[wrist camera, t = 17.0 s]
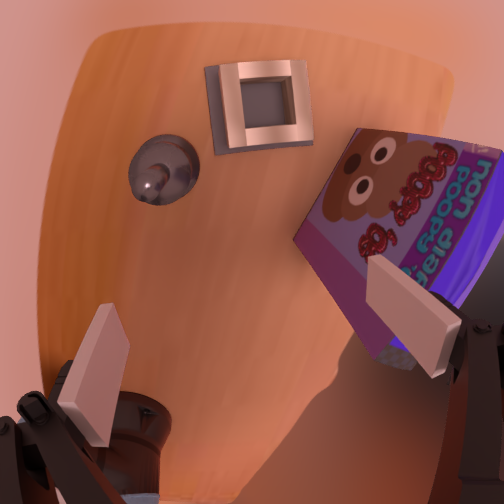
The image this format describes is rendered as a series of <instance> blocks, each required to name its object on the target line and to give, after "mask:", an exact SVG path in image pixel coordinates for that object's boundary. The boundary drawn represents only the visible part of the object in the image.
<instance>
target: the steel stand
mask: <svg viewBox="0 0 504 504" xmlns="http://www.w3.org/2000/svg"><path fill="white" fill-rule="evenodd" d="M199 169H200V163H199V157H198V155H197V152H196V150H195V149H194V147H193V146H192V145H191V144H190V143H189V142H188V141H187V140H185V139H184V138H182V137H179V136H176V135H160V136H156V137H154V138H151V139H150V140H148V141H147V142H145V143H144V144H143V145H142V146H141V148H140V149H139V150H138V152H137V153H136V155H135V156H134V157H133V159H132V161H131V164H130V167H129V182H130V185H131V188H132V193H133V195H134V196H135V198H136V199H138V200H139V201H142V202H146V203H148V204H152V205H167V204H170V203H173V202H174V201H176V200H178V199H179V198H181V197H183V196H184V195H186V194H187V193H188V192H189V191H190V190H191V189H192V188H193V186H194V185H195V183H196V181H197V178H198V175H199Z"/></svg>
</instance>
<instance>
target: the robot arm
mask: <svg viewBox="0 0 504 504" xmlns="http://www.w3.org/2000/svg"><path fill="white" fill-rule="evenodd" d="M366 302H367V303H368V305H369V306H370V307H371V308H372V309H373V310H374V311H375V312H376V314H377V315H378V316H379V317H380V318H381V319H382V320H383V321H384V323H385V324H386V325H387V326H388V327H389V328H390V329H391V331H392V332H393V333H394V334H395V335H396V336H397V338H398V339H399V340H400V341H401V342H402V343H403V345H404V346H405V347H406V348H407V349H408V350H409V352H410V353H411V354H412V355H413V356H414V357H415V359H416V360H417V361H418V362H419V363H420V365H422V367H423V368H424V369H425V371H426V372H427V373H428V374H429V375H430V377H431V378H434V377H436V376H438V375H440V374H442V373H444V372H445V371H446V368H447V365H448V363H449V362H450V363H451V364H452V365H453V366H454V367H453V369H452V372H451V374H450V377H449V379H448V382H447V385H449V383H450V381H451V384H450V394H449V403H448V411H447V419H446V425H445V431H444V437H443V443H442V448H441V453H440V458H439V462H438V467H437V471H436V475H435V479H434V483H433V487H432V490H431V494H430V497H429V501H428V504H504V481H501V480H500V479H499V466H500V456H501V436H502V418H503V422H504V323H503V324H502V325H496V326H492V325H491V324H490V323H489V322H487V321H485V320H482V319H473V320H471V319H470V318H468V317H467V316H466V315H465V314H464V313H462V312H461V311H460V310H459V309H458V308H456V307H455V306H453V304H452V303H450V302H449V301H447V299H445V298H444V297H443V296H442V295H440V294H438V293H436V292H434V291H427V290H425V289H424V288H423V287H422V286H420V285H419V284H418V283H417V282H415V281H414V280H413V279H412V278H410V277H409V276H408V275H407V274H405V273H404V272H403V271H402V270H400V269H399V268H398V267H396V266H395V265H394V264H393V263H391V262H390V261H389V260H387V259H386V258H385V257H383V256H382V255H381V254H379V255H374V256H369V257H368V271H367V290H366ZM129 349H130V344H129V341H128V339H127V336H126V334H125V332H124V329H123V327H122V324H121V322H120V319H119V316H118V314H117V311H116V309H115V306H114V303H107V304H101V305H100V306H99V308H98V310H97V312H96V314H95V316H94V318H93V320H92V322H91V324H90V326H89V328H88V330H87V332H86V335H85V337H84V339H83V341H82V343H81V345H80V348H79V350H78V352H77V354H76V357H75V359H74V360H68V361H67V362H66V363H65V364H64V366H63V367H62V368H61V370H60V372H59V374H58V378H57V379H56V381H55V385H54V386H53V388H52V390H51V393H50V395H49V398H48V400H46V398H45V397H44V395H43V394H42V393H41V392H38V391H31V392H29V393H27V394H25V395H24V396H23V397H21V399H20V400H19V401H18V405H17V411H18V413H19V414H20V415H21V416H22V417H21V419H20V420H19V421H18V423H17V424H16V423H15V421H14V420H13V419H12V418H11V417H9V416H2V417H0V504H158V503H159V498H160V495H159V476H160V453H161V450H162V448H163V446H164V444H165V442H166V440H167V438H168V436H169V434H170V431H171V416H170V414H169V412H168V411H167V410H166V408H165V407H163V406H162V405H161V404H160V403H158V402H156V401H155V400H153V399H151V398H148V397H146V396H143V395H140V394H135V393H130V392H119V391H120V386H121V382H122V378H123V373H124V369H125V365H126V361H127V357H128V353H129Z"/></svg>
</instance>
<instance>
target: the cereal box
mask: <svg viewBox="0 0 504 504" xmlns="http://www.w3.org/2000/svg"><path fill="white" fill-rule="evenodd" d="M503 233H504V153H503V151H502V150H500V149H495V148H491V147H487V146H482V145H477V144H473V143H468V142H462V141H457V140H451V139H446V138H440V137H433V136H427V135H419V134H412V133H404V132H395V131H386V130H375V129H363V128H357V129H356V131H355V133H354V135H353V136H352V138H351V140H350V142H349V144H348V145H347V147H346V149H345V151H344V152H343V154H342V156H341V158H340V159H339V161H338V163H337V165H336V167H335V168H334V170H333V172H332V173H331V175H330V177H329V179H328V180H327V182H326V184H325V186H324V187H323V189H322V191H321V193H320V194H319V196H318V198H317V199H316V201H315V203H314V205H313V206H312V208H311V210H310V211H309V213H308V215H307V216H306V218H305V220H304V222H303V223H302V225H301V227H300V228H299V230H298V232H297V233H296V235H295V237H294V238H293V241H294V242H295V244H296V245H297V246H298V248H299V249H300V251H301V252H302V254H303V255H304V256H305V258H306V259H307V261H308V262H309V264H310V265H311V266H312V268H313V269H314V271H315V272H316V274H317V275H318V277H319V278H320V280H321V281H322V282H323V284H324V285H325V287H326V288H327V290H328V291H329V293H330V294H331V296H332V297H333V299H334V300H335V302H336V303H337V305H338V306H339V308H340V309H341V311H342V312H343V314H344V315H345V317H346V318H347V320H348V321H349V323H350V324H351V326H352V327H353V329H354V330H355V332H356V333H357V335H358V337H359V338H360V340H361V341H362V343H363V344H364V346H365V347H366V349H367V350H368V352H369V353H370V355H371V357H372V358H373V360H374V361H377V362H380V363H383V364H386V365H389V366H392V367H395V368H399V369H406V370H411V369H412V368H413V367H414V366H415V365H416V364H417V362H418V361H417V360H416V359H415V357H414V356H413V355H412V354H411V353H410V352H409V350H408V349H407V348H406V347H405V346H404V345H403V343H402V342H401V341H400V340H399V339H398V338H397V336H396V335H395V334H394V333H393V332H392V331H391V329H390V328H389V327H388V326H387V325H386V324H385V323H384V321H383V320H382V319H381V318H380V317H379V316H378V315H377V314H376V312H375V311H374V310H373V309H372V308H371V307H370V306H369V305H368V303H367V302H366V290H367V271H368V257H369V256H374V255H379V254H381V255H382V256H383V257H385V258H386V259H387V260H389V261H390V262H391V263H393V264H394V265H395V266H396V267H398V268H399V269H400V270H402V271H403V272H404V273H405V274H407V275H408V276H409V277H410V278H412V279H413V280H414V281H415V282H417V283H418V284H419V285H420V286H422V287H423V288H424V289H425V290H427V291H434V292H436V293H438V294H440V295H442V296H443V297H444V298H445V299H447V301H449V302H450V303H452V304H453V306H455V307H456V308H458V309H459V307H460V306H461V305H462V303H463V302H464V300H465V299H466V297H467V296H468V294H469V292H470V291H471V289H472V287H473V286H474V285H475V283H476V281H477V280H478V278H479V276H480V275H481V273H482V271H483V270H484V268H485V266H486V265H487V263H488V261H489V259H490V258H491V256H492V254H493V252H494V250H495V249H496V247H497V245H498V243H499V241H500V239H501V237H502V235H503Z"/></svg>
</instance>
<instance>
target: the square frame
mask: <svg viewBox="0 0 504 504" xmlns="http://www.w3.org/2000/svg"><path fill="white" fill-rule="evenodd" d="M218 74H219V83H220V91H221V100H222V108H223V116H224V124H225V133H226V141H227V146H228V147H229V148H235V147H243V146H251V145H260V144H270V143H281V142H292V141H306V140H314V130H313V119H312V108H311V98H310V89H309V80H308V72H307V63H306V60H272V61H254V62H241V63H230V64H221V65H220V66H219V72H218ZM270 82H281V88H282V97H283V106H284V116H285V125H274V126H263V127H253V128H245V122H244V114H243V105H242V97H241V88H240V85H244V84H255V83H270Z"/></svg>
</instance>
